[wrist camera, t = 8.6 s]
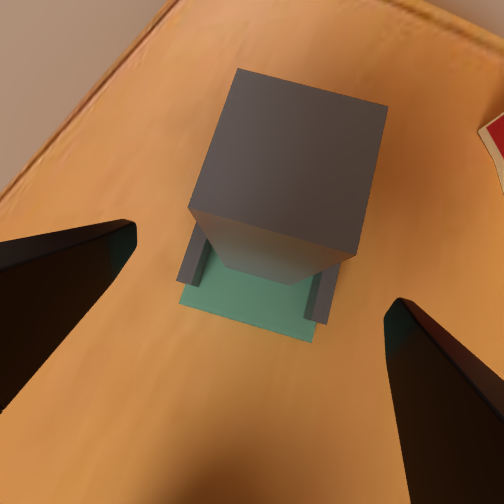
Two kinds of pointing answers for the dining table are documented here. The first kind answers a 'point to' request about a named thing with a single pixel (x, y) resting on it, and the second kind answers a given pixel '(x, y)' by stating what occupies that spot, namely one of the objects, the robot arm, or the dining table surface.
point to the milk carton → (495, 143)
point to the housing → (287, 177)
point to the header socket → (254, 293)
